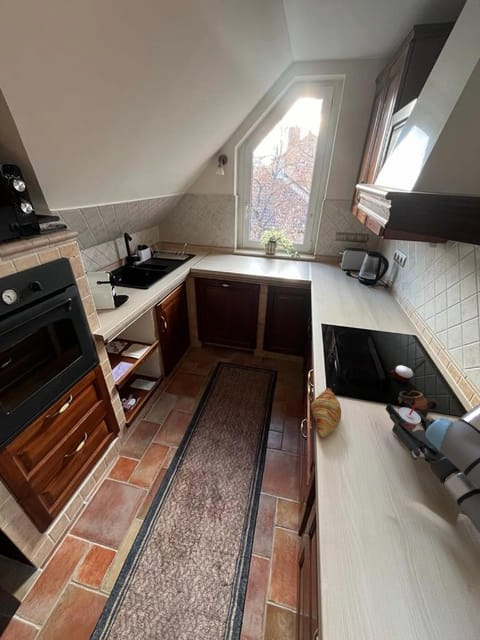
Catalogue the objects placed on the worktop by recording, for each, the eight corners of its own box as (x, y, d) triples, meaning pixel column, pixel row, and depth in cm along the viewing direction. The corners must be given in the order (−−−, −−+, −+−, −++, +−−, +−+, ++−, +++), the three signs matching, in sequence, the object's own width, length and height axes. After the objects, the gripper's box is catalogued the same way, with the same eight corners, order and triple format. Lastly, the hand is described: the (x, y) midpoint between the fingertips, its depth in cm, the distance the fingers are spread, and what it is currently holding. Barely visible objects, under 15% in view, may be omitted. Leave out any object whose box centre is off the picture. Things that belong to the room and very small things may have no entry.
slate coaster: (437, 433, 84) (437, 432, 84) (448, 458, 77) (449, 457, 76) (408, 427, 86) (409, 426, 85) (417, 451, 78) (417, 450, 78)
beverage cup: (386, 433, 83) (401, 403, 76) (392, 422, 87) (407, 393, 80) (406, 445, 80) (424, 416, 73) (412, 433, 84) (429, 404, 76)
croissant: (328, 449, 82) (346, 440, 77) (303, 431, 82) (319, 421, 77) (332, 400, 98) (347, 390, 94) (311, 385, 98) (325, 375, 94)
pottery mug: (406, 422, 88) (402, 399, 87) (395, 411, 97) (392, 390, 97) (445, 420, 85) (442, 396, 85) (430, 409, 94) (427, 387, 94)
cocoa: (387, 379, 105) (397, 356, 99) (390, 370, 110) (400, 348, 104) (413, 389, 101) (426, 366, 95) (415, 380, 105) (427, 357, 99)
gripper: (417, 490, 65) (367, 415, 85) (481, 481, 67) (418, 410, 87) (428, 474, 61) (373, 399, 81) (497, 465, 64) (427, 395, 83)
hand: (397, 405), depth 84 cm, fingers closed on beverage cup, 6 cm apart
